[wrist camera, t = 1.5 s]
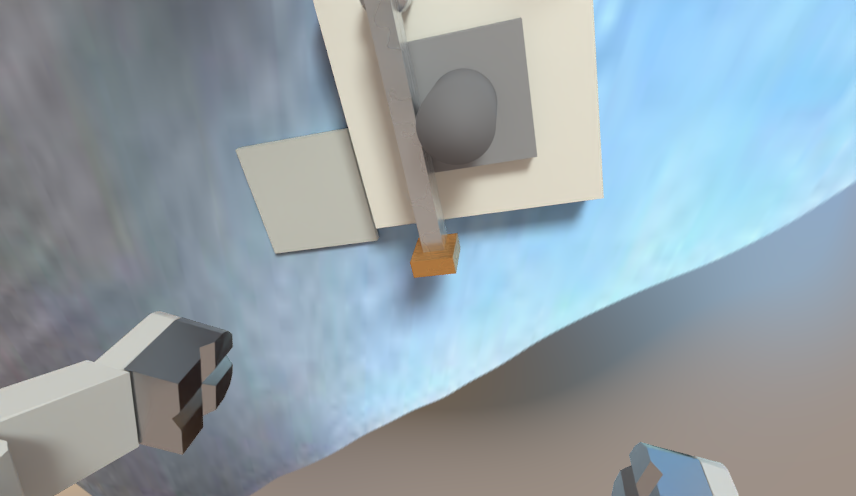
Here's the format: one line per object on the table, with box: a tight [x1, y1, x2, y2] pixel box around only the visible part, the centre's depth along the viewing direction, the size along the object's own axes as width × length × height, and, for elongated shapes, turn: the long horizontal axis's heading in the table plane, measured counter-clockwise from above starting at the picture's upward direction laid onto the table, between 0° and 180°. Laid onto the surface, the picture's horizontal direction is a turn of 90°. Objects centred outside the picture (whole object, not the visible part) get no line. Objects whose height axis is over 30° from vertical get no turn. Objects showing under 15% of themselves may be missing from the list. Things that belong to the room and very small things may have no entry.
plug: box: [408, 18, 537, 173], centre depth 26 cm, size 7×7×9 cm
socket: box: [313, 0, 604, 229], centre depth 29 cm, size 14×14×3 cm
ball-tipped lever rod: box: [360, 0, 460, 278], centre depth 26 cm, size 16×2×4 cm, turn 12°
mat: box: [236, 128, 379, 254], centre depth 35 cm, size 8×8×1 cm
